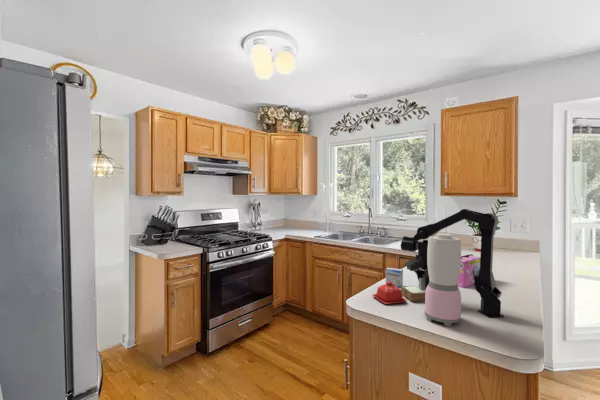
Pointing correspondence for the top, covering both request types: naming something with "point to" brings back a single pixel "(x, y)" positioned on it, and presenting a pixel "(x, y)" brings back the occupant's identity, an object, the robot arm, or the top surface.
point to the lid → (418, 289)
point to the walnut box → (413, 295)
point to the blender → (443, 279)
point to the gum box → (468, 270)
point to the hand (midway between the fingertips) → (424, 287)
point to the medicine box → (395, 276)
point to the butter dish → (389, 294)
